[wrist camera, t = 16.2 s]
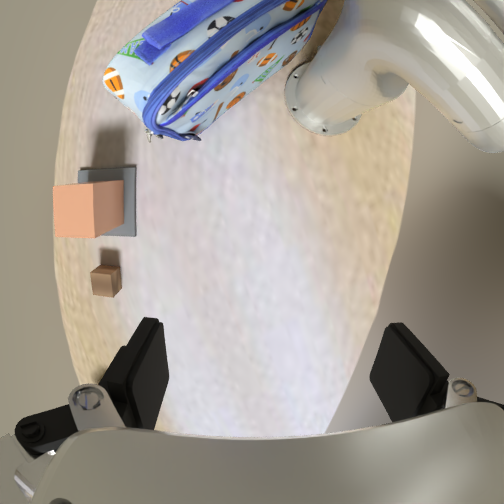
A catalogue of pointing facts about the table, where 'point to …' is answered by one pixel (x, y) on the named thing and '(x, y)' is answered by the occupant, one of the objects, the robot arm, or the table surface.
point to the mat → (129, 195)
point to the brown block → (106, 280)
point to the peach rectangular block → (88, 208)
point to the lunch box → (206, 60)
